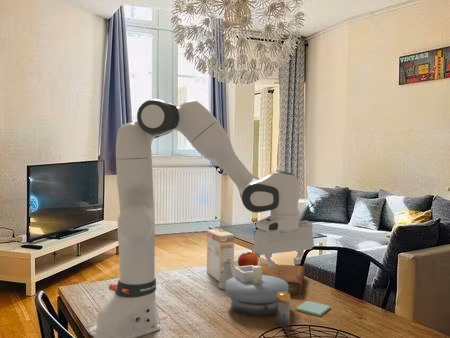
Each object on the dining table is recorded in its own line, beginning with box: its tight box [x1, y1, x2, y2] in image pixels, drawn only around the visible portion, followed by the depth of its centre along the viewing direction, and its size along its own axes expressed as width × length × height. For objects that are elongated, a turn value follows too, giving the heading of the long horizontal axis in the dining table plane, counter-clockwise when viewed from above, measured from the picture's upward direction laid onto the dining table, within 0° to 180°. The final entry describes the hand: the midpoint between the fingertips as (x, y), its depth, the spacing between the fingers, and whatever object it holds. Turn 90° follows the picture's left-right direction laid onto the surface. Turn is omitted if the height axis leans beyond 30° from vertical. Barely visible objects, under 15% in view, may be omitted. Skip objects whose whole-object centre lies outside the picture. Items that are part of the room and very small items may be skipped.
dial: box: [225, 265, 288, 303], centre depth 156 cm, size 22×22×9 cm
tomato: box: [237, 251, 259, 267], centre depth 202 cm, size 9×9×8 cm
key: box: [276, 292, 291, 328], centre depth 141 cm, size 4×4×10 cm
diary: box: [259, 262, 305, 296], centre depth 181 cm, size 23×19×6 cm
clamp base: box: [230, 298, 277, 318], centre depth 156 cm, size 18×18×5 cm
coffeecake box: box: [206, 228, 235, 283], centre depth 191 cm, size 15×7×20 cm, turn 23°
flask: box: [217, 262, 232, 291], centre depth 177 cm, size 7×7×10 cm
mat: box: [295, 300, 331, 317], centre depth 154 cm, size 9×9×1 cm
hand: (284, 265), depth 140 cm, fingers open, 8 cm apart
